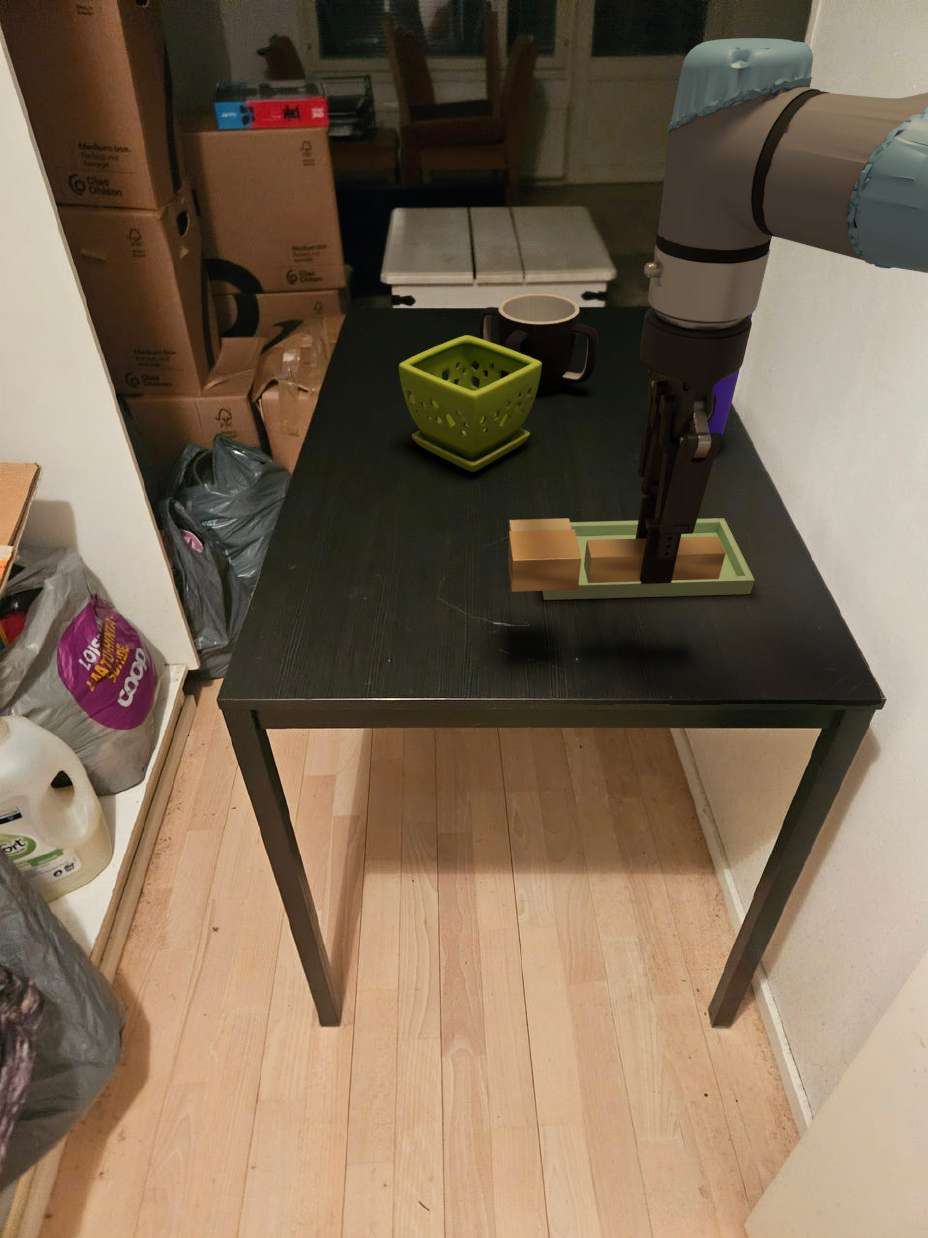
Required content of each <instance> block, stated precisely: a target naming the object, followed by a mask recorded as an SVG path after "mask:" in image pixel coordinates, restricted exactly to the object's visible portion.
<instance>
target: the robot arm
mask: <svg viewBox="0 0 928 1238" xmlns="http://www.w3.org/2000/svg"><path fill="white" fill-rule="evenodd" d="M813 63H814V54H813V50H812V48H811V47H810V45H809V44H807V43H805V42H802V41H793V40H791V39H782V38H767V37H766V38H764V37H762V38H761V37H760V38H759V37H755V38H754V37H749V38H748V37H745V38H743V37H741V38H723V39H722V38H721V39H713V40H708V41H707V40H706V41H704V42H701V43H699V44H697V45H695V46H694V47H693V48H692V49H690V51H689V52H688V53H687V55H686V56H685V58H684V60H683V62H682V65H681V70H680V74H679V80H678V85H677V90H676V95H675V101H674V105H673V109H672V110H673V111H672V115H671V121H670V123H669V124H668V128H667V133H668V138H667V148H666V157H665V167H664V176H663V185H662V195H661V204H660V215H659V223H658V228H656V235H655V236H656V237H655V245H654V251H653V254H654V259H653V261H651V262H646V263H645V264H644V267H643V269H644V270H643V275H644V276H645V278H649V279H650V280H649V287H648V297H647V302H648V304H649V305H650V307H649V308H648V310H647V311H646V312H645V313H644V318H643V325H642V333H641V340H640V346H639V347H640V348H639V360H640V361H641V363H642V364H643V366H644V367H645V368H646V369H647V394H646V395H647V396H646V405H645V411H644V420H643V429H642V438H641V445H640V453H639V461H638V468H637V474H638V475H637V476H638V477H639V478H640V479H642V483H641V485H640V491H641V494H642V495H643V496H645V497H641V502H640V509H639V515H638V519H637V521H638V526H637V532H636V538H635V539H640V538H647V539H646V545H645V551H644V557H643V563H642V569H641V574H640V582H641V584H660V583H671V582H672V577H673V572H674V567H675V563H676V558H677V553H678V548H679V543H680V539H681V534H693V532H694V529H695V525H696V522H697V519H699V518H698V517H699V514H700V512H701V511H700V510H701V507H702V503H703V499H704V496H705V492H706V490H707V486H708V482H709V477H710V476H711V475H710V474H711V470H712V467H713V463H714V460H715V458H716V457H717V455H718V453H719V451H720V449H721V447H722V445H723V437H722V435H721V433H720V432H719V433H709V423H710V420H711V418H712V417H713V416H714V412H715V406H716V395H715V394H714V386H715V385H716V384H717V383H718V382H720V381H721V380H723V379H724V378H726V377H730V376H731V375H733V374H735V373H736V372H737V371H738V370H739V369H740V370H741V368H742V366H743V365H744V360H745V356H746V351H747V348H748V342H749V338H750V334H751V329H752V326H753V321H752V318H751V319H750V317H749V315H750V314H752V313H754V312H755V311H756V309H757V308H758V303H759V299H760V295H761V291H762V286H763V283H764V278H765V274H766V269H767V265H768V261H769V257H770V252H771V249H770V247H771V243H772V238H773V237H775V238H779V239H782V240H787V241H790V242H793V243H797V244H801V245H805V246H809V247H813V248H816V249H820V250H823V251H827V252H830V253H835V254H839V255H840V256H841V255H842V256H844V257H845V256H846V257H850V258H853V259H857V260H860V261H864V262H865V263H866V264H869V265H874V267H877V268H881V269H888V270H889V269H893V268H895V269H900V270H907V271H914V272H920V273H923V274H928V92H924V93H918V94H914V95H910V96H905V97H875V96H867V95H854V94H844V93H833V92H832V93H831V92H829V91H822V90H820V89H818V88H813V87H811V83H812V79H813V76H812V72H813V71H812V70H813ZM752 315H753V314H752ZM740 370H739V371H740Z"/></svg>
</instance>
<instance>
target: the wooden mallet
mask: <svg viewBox="0 0 928 1238" xmlns="http://www.w3.org/2000/svg"><path fill="white" fill-rule="evenodd" d="M508 521H509V523H508V524H509V525H508V554H507V556H508V557H507V564H508V572H509V578H510V579H509V581H510V588H511V590H510V591H511V592H512V593H514V592H515V593H517V592H518V593H519V592H542V591H553V590H578V586H579V577H580V567H581V554H580V550H579V546H578V542H577V537H576V533H575V530H574V529H571V525H570V522H571V519H570V518H535V519H534V518H533V519H532V518H531V519H529V518H528V519H509V520H508ZM646 539H647V538H640V539H607V540H587V542H586V551H585V559H584V569H585V573H586V577H587V581H588V583H608V582H640V574H641V569H642V563H643V557H644V551H645V545H646ZM725 554H726V553H725V550H724V548H723V546H722V544H721V542H720V540H719V538H718V536H707V537H681V539H680V543H679V548H678V553H677V558H676V563H675V567H674V572H673V577H672V581H673V580H706V579H719V577H720V573H721V569H722V565H723V562H724V558H725Z"/></svg>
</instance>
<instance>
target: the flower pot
mask: <svg viewBox="0 0 928 1238" xmlns="http://www.w3.org/2000/svg"><path fill="white" fill-rule="evenodd" d="M475 362H476V363H477V364H479V365H478V368H477V369H476V368H474V367H473V364H474V363H475ZM492 365H493V366H492ZM541 369H542V363H541V362H540V361H538V360H536V359H534V358H531V357H529V356H526V355H524V354H521V353H518V352H516V351H513V350H511V349H508V348H505V347H502V346H499V344H496V343H494V342H492V341H491V342H488V341H485V340H482V339H480V337H476V336H473V335H469V334H465V335H463V336H459V337H456V338H453V339H451V340H449V341H446V342H444V343H442V344H438V345H436V346H433V347H432V348H428V349H427V350H425V351H423V352H419V353H418V354H416V355H413V356H411V357H409V358H407V359H405V360H403V361H402V362H400V363H399V365H398V374H399V381H400V385H401V389H402V390H401V391H402V392H403V393H402V394H403V397H404V401H405V403H406V407H407V409H408V411H409V415H410V416H411V417H412V419H413V422H414V424H415V425H416V426H417V428H418V430H417V431H415V432H414V433H412V434H411V438H412V440H413V441H414V442H415V443H416V444H417V445H418V446H419V447H421V448H423V449H425V450H426V451H428V452H430V453H432V454H434V455H435V456H438V457H440V458H442V459H443V460H446V461H448V462H450V463H452V464H454V465H455V466H458V467H459V468H461V469H464V470H466V471H468V472H471V473H475V472H477V471H478V470H479V471H480V469H483V468H485V467H486V466H488V465H489V464H491V463H493V462H494V461H496V460H497V459H500V458H503V456H505V455H507V454H509V453H510V452H512V451H514V450H516V449H518V448H519V447H520V446H522V445H523V444H524V443H525V442H526V441H527V440H528V439H529V437H530V435H531V433H530V432H529V431H528V430H526V429H524V428H522V426H523V424H524V423H525V421H526V419H527V418H528V415H529V414H530V412H531V409H532V407H533V404H534V402H535V399H536V397H537V394H536V393H537V389H538V385H539V381H540V376H541ZM503 371H506V372H508V373H509V375H508V376H506V377H504V376H503V377H502V372H503ZM444 372H447V376H448V377H447V378H448V379H447V380H446V379H443V373H444ZM486 372H487V375H486ZM474 378H476V379H478V380H479V384H478V387H477V386H475V385H473V384H474ZM455 380H457V383H455Z"/></svg>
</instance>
